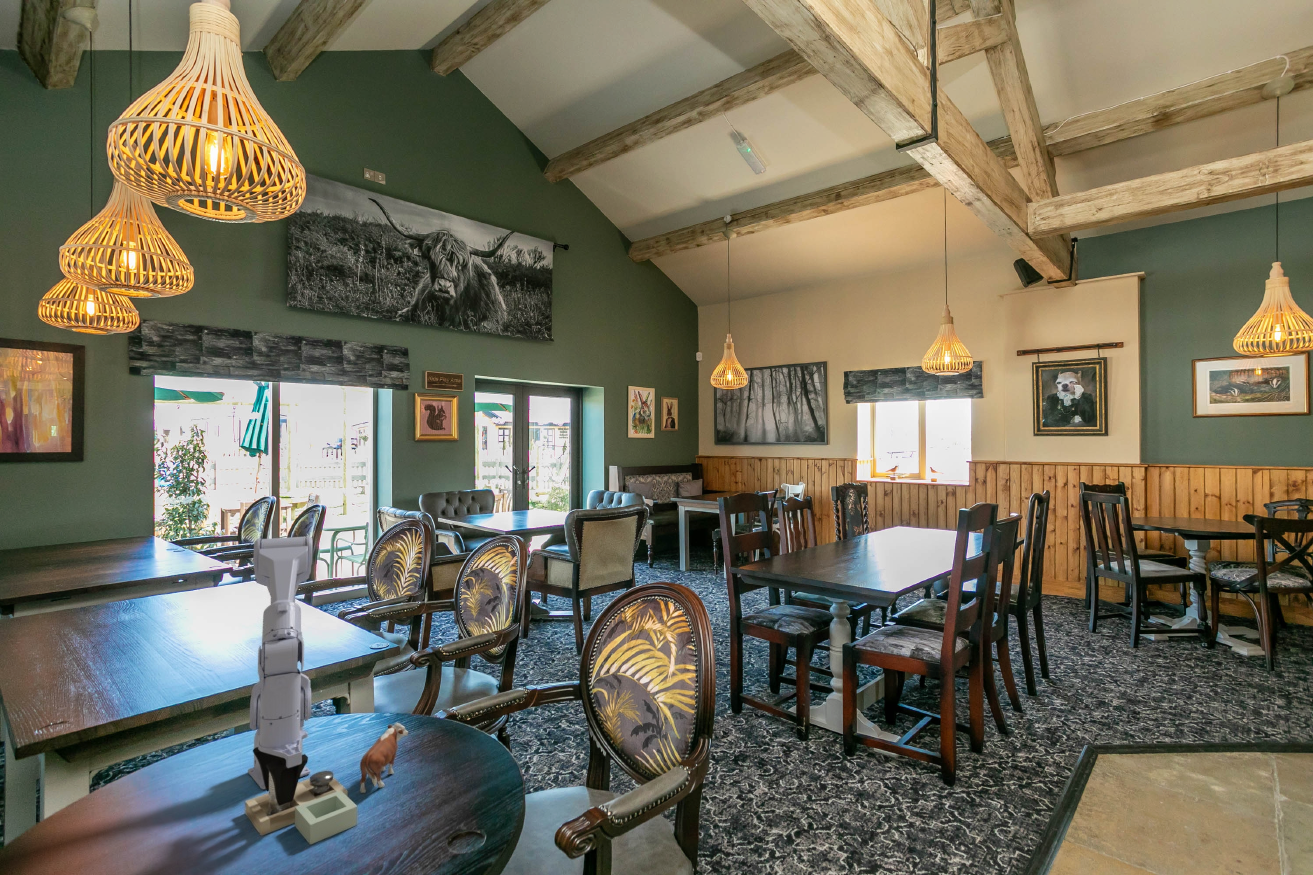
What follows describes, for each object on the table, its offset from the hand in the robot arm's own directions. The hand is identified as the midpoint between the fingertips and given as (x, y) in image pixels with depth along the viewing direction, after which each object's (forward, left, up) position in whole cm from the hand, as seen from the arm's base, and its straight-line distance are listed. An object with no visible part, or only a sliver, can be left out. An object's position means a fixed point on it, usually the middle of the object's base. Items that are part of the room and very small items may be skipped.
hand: (279, 795), depth 104 cm
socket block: (0, +3, -4) cm, 5 cm away
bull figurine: (0, +17, -4) cm, 18 cm away
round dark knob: (0, +7, -3) cm, 7 cm away
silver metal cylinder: (0, 0, -4) cm, 4 cm away
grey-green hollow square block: (+8, +4, -4) cm, 10 cm away
